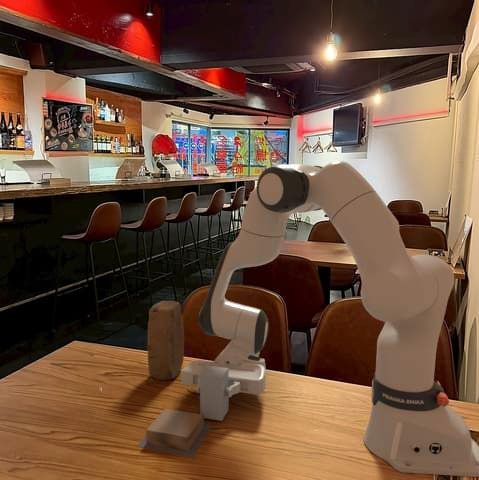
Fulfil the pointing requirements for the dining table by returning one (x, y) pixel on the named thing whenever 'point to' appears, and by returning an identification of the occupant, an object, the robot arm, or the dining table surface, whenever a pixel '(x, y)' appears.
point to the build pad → (175, 451)
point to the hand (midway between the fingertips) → (213, 392)
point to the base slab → (175, 429)
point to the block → (165, 340)
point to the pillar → (214, 392)
